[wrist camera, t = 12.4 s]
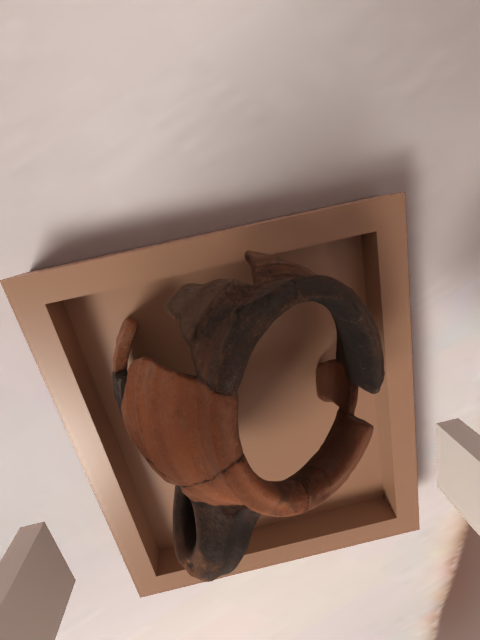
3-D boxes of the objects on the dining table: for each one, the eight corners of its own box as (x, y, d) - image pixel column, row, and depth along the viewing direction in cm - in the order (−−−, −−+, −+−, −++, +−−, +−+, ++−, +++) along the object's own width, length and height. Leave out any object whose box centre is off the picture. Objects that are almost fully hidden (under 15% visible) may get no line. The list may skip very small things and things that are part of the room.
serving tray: (147, 560, 19) (140, 597, 17) (28, 271, 14) (-1, 280, 12) (399, 498, 20) (419, 529, 18) (378, 195, 14) (405, 192, 12)
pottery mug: (105, 246, 14) (190, 207, 7) (276, 278, 19) (420, 273, 12) (80, 526, 14) (137, 751, 7) (254, 480, 19) (382, 584, 13)
